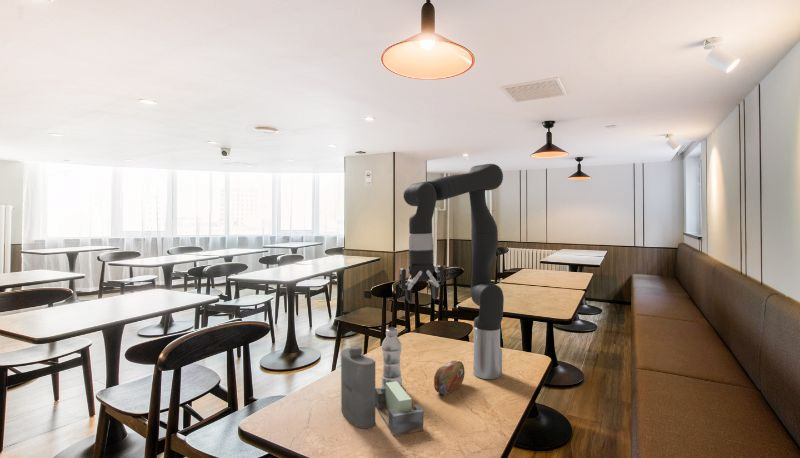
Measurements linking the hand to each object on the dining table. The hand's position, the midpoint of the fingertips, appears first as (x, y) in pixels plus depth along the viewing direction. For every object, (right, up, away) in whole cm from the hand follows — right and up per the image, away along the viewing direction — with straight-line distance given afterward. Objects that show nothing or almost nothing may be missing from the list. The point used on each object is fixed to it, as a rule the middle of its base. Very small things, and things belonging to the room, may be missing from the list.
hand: (422, 300), depth 119 cm
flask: (-19, -32, -10) cm, 38 cm away
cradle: (-8, -31, -10) cm, 34 cm away
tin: (+9, -31, +8) cm, 33 cm away
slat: (-8, -31, -10) cm, 33 cm away
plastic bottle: (-10, -31, +7) cm, 33 cm away
